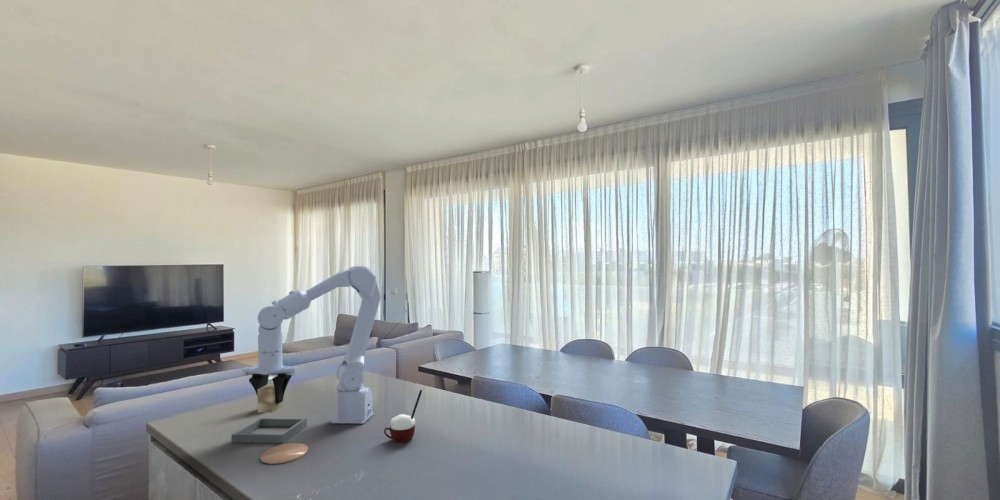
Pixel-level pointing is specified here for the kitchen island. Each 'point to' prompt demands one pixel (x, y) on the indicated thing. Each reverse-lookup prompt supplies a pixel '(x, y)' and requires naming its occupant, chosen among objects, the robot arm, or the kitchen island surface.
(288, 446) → the saucer
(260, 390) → the block
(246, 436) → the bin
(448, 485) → the kitchen island surface
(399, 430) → the cocoa
